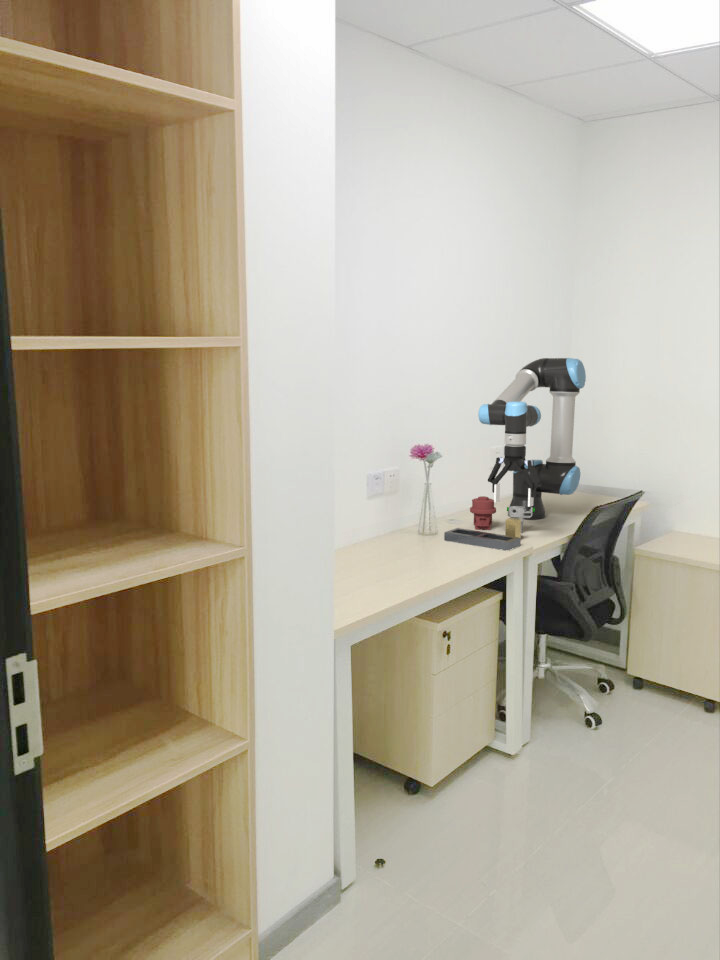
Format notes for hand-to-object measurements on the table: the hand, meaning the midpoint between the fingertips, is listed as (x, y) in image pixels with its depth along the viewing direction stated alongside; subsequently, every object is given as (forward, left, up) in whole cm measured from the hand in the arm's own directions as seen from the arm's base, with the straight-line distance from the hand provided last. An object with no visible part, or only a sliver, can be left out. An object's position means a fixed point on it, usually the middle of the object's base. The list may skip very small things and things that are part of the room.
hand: (513, 504), depth 301 cm
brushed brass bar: (0, 0, -14) cm, 14 cm away
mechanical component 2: (-11, -19, -14) cm, 26 cm away
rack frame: (+10, -7, -14) cm, 18 cm away
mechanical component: (-13, -4, -14) cm, 20 cm away
